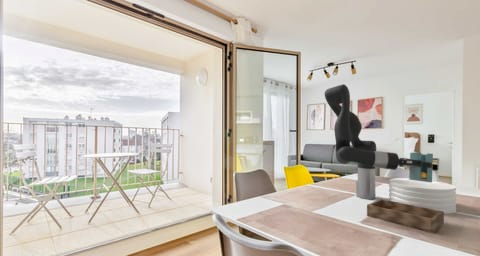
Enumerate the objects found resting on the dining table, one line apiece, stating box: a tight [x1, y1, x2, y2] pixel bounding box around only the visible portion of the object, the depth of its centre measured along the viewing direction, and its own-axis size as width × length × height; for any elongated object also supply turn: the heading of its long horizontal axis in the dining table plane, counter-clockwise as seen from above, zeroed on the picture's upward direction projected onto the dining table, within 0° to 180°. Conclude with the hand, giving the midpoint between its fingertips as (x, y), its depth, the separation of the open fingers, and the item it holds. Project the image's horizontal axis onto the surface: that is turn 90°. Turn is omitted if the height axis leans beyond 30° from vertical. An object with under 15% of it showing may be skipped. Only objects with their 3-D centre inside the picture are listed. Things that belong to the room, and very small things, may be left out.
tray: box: [366, 198, 445, 234], centre depth 103 cm, size 24×16×5 cm, turn 39°
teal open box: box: [408, 151, 434, 182], centre depth 103 cm, size 6×6×12 cm
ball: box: [421, 172, 427, 179], centre depth 101 cm, size 3×3×3 cm
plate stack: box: [388, 177, 457, 214], centre depth 125 cm, size 28×28×12 cm
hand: (427, 165), depth 102 cm, fingers closed on teal open box, 6 cm apart
